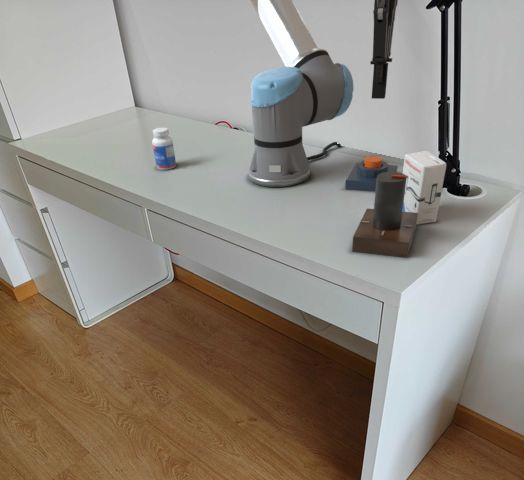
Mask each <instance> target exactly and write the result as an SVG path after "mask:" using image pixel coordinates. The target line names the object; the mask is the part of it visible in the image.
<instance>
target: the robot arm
mask: <svg viewBox="0 0 524 480" xmlns="http://www.w3.org/2000/svg"><path fill="white" fill-rule="evenodd" d="M250 2H251V5H252V6H253V9H254V10H255V12H256V13H257V16H258V17H259V19H260V21H261V23H262V25H263V27H264V29H265V30H266V32H267V34H268V36H269V38H270V40H271V42H272V44H273V45H274V47H275V49H276V51H277V53H278V55H279V57H280V59H281V60H282V62H283V64H284V66H282V67H278V68H275V67H274V68H271V69H267V70H265V71H262V72H260V73H259V74H257V75H256V76H255V77H254V78H253V79H252V82H251V84H250V104H251V116H252V129H253V143H254V144H253V150H252V155H251V159H250V162H249V163H250V164H249V167H248V177H249V181H250V182H252V184H255V185H258V186H261V187H267V188H282V187H292V186H296V185H298V184H302V183H304V182H305V181H307V180H308V179H309V178H310V176H311V167H310V164H309V163H310V162H309V161H313V160H316V159H320V158H322V157H324V156H326V154H327V151H328V150H329V149H331V148H333V147H335V146H336V147H338V148H341V147H342V144H341V143H339V142H338V141H333V142H331V143H329V144H328V145H326V146H324V147H323V149H322V151H321V152H320V153H318V154H314V155H310V156H307V154H306V151H305V148H304V145H303V128H304V127H307V126H311V125H315V124H319V123H322V122H325V121H326V122H327V121H332V120H333V119H335V118H337V117H340V116H343V115H344V114H345V113H346V112H347V111H348V109H349V108H350V106H351V103H352V101H353V93H354V88H355V87H354V79H353V75H352V72H351V70H350V69H349V68H348V66H346V65H345V64H342V63H340V62H335V63H334V62H333V59H332V57H331V56H330V54H329V52H328V51H327V50H326V49H324V48H319V47H318V46H317V44H316V41H315V39H314V38H313V37H312V35H311V32H310V31H309V29H308V27H307V25H306V23H305V21H304V20H303V17H302V15H301V13H300V11H299V10H298V8H297V7H296V4H295V3H294V1H293V0H250ZM398 3H399V0H374V3H373V10H372V11H373V13H372V14H373V36H372V37H373V41H372V45H373V46H372V58H371V61H370V62H369V63H370V65H373V73H372V86H371V89H372V90H371V99H381V100H383V99H385V98H386V96H387V95H386V94H387V84H388V83H387V82H388V71H389V63H392V62H393V57H391V55H392V43H393V37H394V36H393V35H394V27H395V21H396V11H397V7H398ZM337 142H338V143H339V144H337Z"/></svg>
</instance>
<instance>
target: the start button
mask: <svg viewBox="0 0 524 480" xmlns="http://www.w3.org/2000/svg"><path fill="white" fill-rule="evenodd" d="M364 161H365V163H364V167H367V168H380V167H382V161H383V158H382V157H381V156H378V155H377V156H376V155H370V156H366V157H364Z"/></svg>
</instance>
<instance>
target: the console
mask: <svg viewBox="0 0 524 480" xmlns="http://www.w3.org/2000/svg"><path fill="white" fill-rule="evenodd" d="M373 213H374V208H366V209H365V211H364V214H363V215H362V217H361V220H360V222H359V224H358V226H357V228H356V230H355V232H354V233H353V236H352V246H351V248H352V249H351V251H352V252H354V253H363V254H373V255H379V256H389V257H395V258H396V257H397V258H406V259H407V258H408V256H409V253H410V249H411V247H412V246H411V245H412V243H413V239H414V235H415V231H416V229H417V225H416V223H417V216H418V213H413V212H402V219H401V226H400V227H399V228H397V229H394V230H382V229H378V228H376V227H374V226H373Z"/></svg>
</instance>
